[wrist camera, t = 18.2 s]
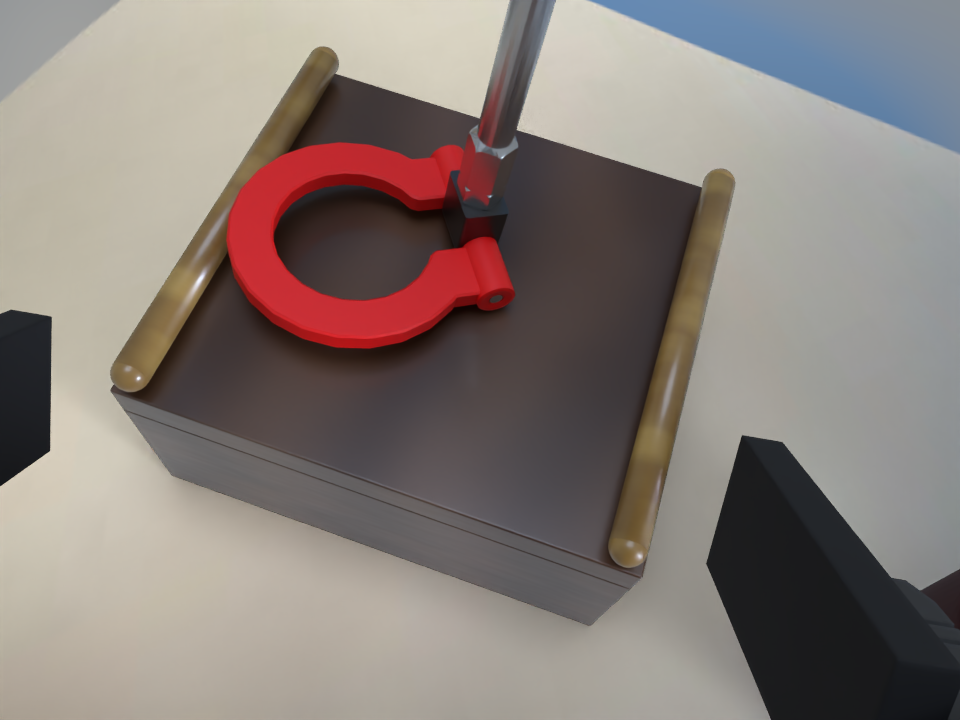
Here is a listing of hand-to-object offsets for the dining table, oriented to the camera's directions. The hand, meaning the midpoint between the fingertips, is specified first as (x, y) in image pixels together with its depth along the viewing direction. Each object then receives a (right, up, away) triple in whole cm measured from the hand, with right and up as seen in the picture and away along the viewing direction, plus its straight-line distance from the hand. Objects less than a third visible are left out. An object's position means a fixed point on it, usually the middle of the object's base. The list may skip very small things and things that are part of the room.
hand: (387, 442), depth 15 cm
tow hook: (-2, +5, +14) cm, 15 cm away
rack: (0, +1, +21) cm, 21 cm away
